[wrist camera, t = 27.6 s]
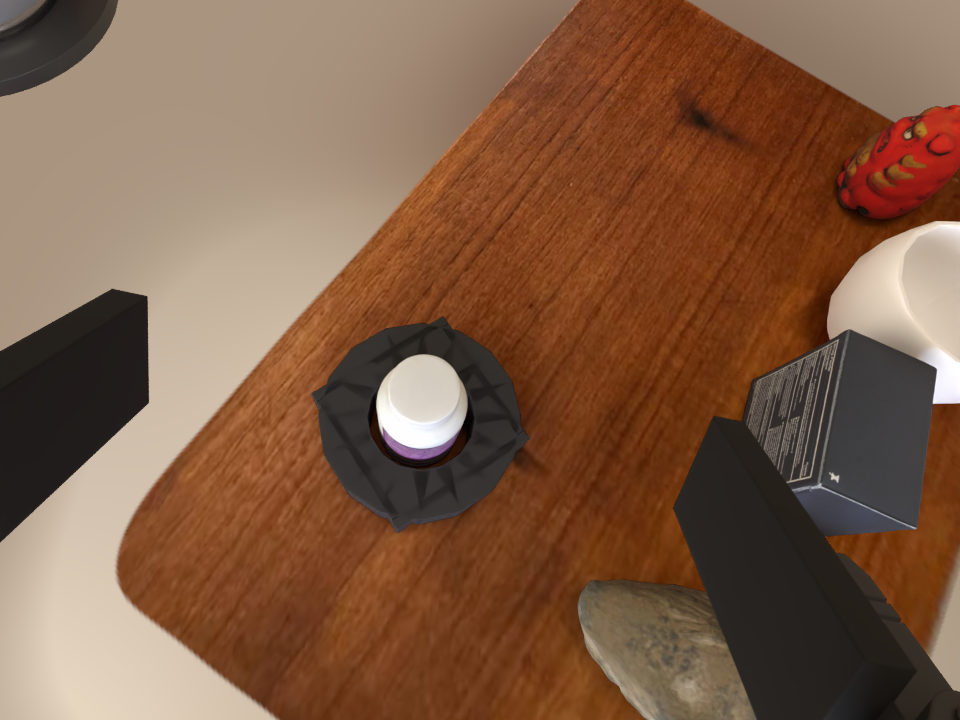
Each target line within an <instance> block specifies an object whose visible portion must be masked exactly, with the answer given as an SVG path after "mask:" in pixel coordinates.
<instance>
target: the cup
mask: <svg viewBox="0 0 960 720" xmlns="http://www.w3.org/2000/svg"><path fill="white" fill-rule="evenodd" d="M848 329H851V330H853V331H855V332H858V333H860V334H862V335H864V336H867V337H869V338H871V339H874V340H876V341H878V342H880V343H883V344H885V345H887V346H889V347H892V348H894V349H897V350H899V351H901V352H903V353H906V354H908V355H910V356H912V357H914V358H917V359H919V360H921V361H923V362H926V363H928V364H929V365H931V366H933V367H935V368H936V369H937V376H936V383H935V391H934V398H933V404H941V403H960V222H948V221H935V222H932V223H929V224H926V225H923V226H920V227H917V228H914V229H910V230H908V231H906V232H903V233H901V234H899V235H896V236H894V237H892V238H889V239H887V240H885V241H883V242H882V243H880V244H879V245H877V246H876V247H875V248H873V249H872V250H870V251H869V252H867V253H866V254H864V255H863V256H861V257H860V258H859V259H858V260H857V262H856V263H855V264H854V266H853V267H852V268H851V269H850V271H849V272H848V273H847V275H846V276H845V277H844V279H843V280H842V282H841V283H840V284H839V286H838V287H837V288H836V290H835V291H834V293H833V294H832V295H831V299H830V306H829V312H828V318H827V331H828V335H829V339H830V340H831V339H833V338H834V337H836V336H838V335H839V334H840V333H842V332H844V331H846V330H848Z"/></svg>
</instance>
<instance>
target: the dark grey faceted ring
mask: <svg viewBox="0 0 960 720" xmlns="http://www.w3.org/2000/svg"><path fill="white" fill-rule="evenodd" d="M422 354H426V355H433V356H436V357H439V358H441V359H443V360H445V361H446V362H447V363H449V364H450V365H451V366H452V367H453V369H454V370H455V372H456V373H457V375H458V377H459V378H460V380H461V381H462V383H463V385H464V388H465V390H466V394H467V401H468V406H467V413H466V419H467V423H468V428H469V429H468V435H467V440H466V445H465V446H464V448H463V449H462V451H461V452H460V454H459V455H457V456H456V457H454V458H453V459H451V460H450V461H448V462H447V463H445V464H444V465H442V466H437V467H432V468H427V469H422V470H421V469H416V468H411V467H406V466H401V465H399V464H397V463H396V462H394V461H393V460H391V459H390V458H388V457H387V456H385V455H384V454H383V453H382V452H381V450H380V449H379V447H378V446H377V444H376V443H375V441H374V439H373V438H372V436H371V431H370V425H371V421H372V417H373V413H374V409H375V408H376V401H377V395H378V391H379V388H380V386H381V384H382V382H383V380H384V379H385V377H386V376H387V375H388V374H389V373H390V372H391V371H392V370H393V369H394V368H395V367H397V365H398V364H399V363H401V362H402V361H404V360H405V359H407V358H409V357H411V356H415V355H422ZM311 395H312V397H313V399H314V401H315V403H316V406H317V408H318V409H319V416H318V417H319V424H320V431H321V438H322V445H323V452H324V456H325V457H326V459H327V461H328V462H329V464H330V466H331V467H332V469H333V470H334V472H335V474H336V475H337V477H338V478H339V480H340V482H341V483H342V485H343V486H344V488H345V490H346V491H347V493H348V494H349V495H350V496H351V497H352V498H353V499H355V500H356V501H358V502H359V503H361V504H362V505H364V506H365V507H367V508H368V509H370V510H371V511H373V512H374V513H375V514H377V515H378V516H380V517H382V518H387V519H388V520H389V521H390V523H391V524H392V526H393V528H394V529H395V531H396V532H397V533H398V532H400V531H401V530H403V529H404V528H406V527H407V526H409V525H410V524H411V523H413V524H423V523H428V522H433V521H437V520H442V519H447V518H451V517H455V516H457V515H459V514H460V513H462V512H463V511H465V510H466V509H467V508H469V507H470V506H472V505H473V504H474V503H476V502H477V501H479V500H480V499H482V498H483V497H484V496H486V495H487V494H488V493H489V492H490V491H492V490H493V489H494V488H495V487H496V485H497V483H498V482H499V480H500V478H501V477H502V475H503V474H504V472H505V470H506V469H507V467H508V466H509V464H510V462H511V461H512V459H513V458H514V456H515V452H516V451H517V450H519V449H520V448H521V447H522V446H523V445H524V444H525V443H526V442H527V441H528V440H529V439H530V438H529V436H528V435H527V433H526V432H525V431H523V430H524V429H523V428H522V426H521V425H520V420H521V418H520V417H521V415H520V411H519V407H518V403H517V399H516V395H515V390H514V386H513V382H512V380H511V379H510V377H509V376H508V375H507V373H506V372H505V370H504V369H503V368H502V366H501V365H500V364H499V362H498V361H497V359H496V358H495V357H494V355H493V354H492V352H491V351H489V350H488V349H487V348H485V347H483V346H482V345H480V344H479V343H477V342H476V341H474V340H473V339H471V338H470V337H468V336H467V335H465V334H463V333H462V332H460V331H458V330H453V329H452V328H451V326H450V325H449V324H448V322H447V321H446V319H445V318H444V317H441V318H439V319H438V320H436V321H434V322H432V323H431V324H425V323H419V324H412V325H406V326H399V327H392V328H386V329H384V330H382V331H381V332H379V333H377V334H375V335H374V336H372V337H370V338H368V339H367V340H365V341H363V342H361V343H360V344H358V345H356V346H354V347H353V348H352V349H351V350H350V351H349V352H348V354H347V355H346V356H345V358H344V359H343V360H342V361H341V363H340V364H339V365H338V366H337V368H336V369H335V370H334V372H333V373H332V374H331V375H330V377H329V378H328V382H327V385H325V386H323V387H321V388H320V389H318V390H316V391H315V392H313V393H312V394H311Z"/></svg>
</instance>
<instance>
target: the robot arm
mask: <svg viewBox="0 0 960 720" xmlns="http://www.w3.org/2000/svg"><path fill="white" fill-rule="evenodd" d="M56 1H57V0H0V42H1V41H4V40H7V39H9V38H12V37H14V36H16V35H18V34H20V33H22V32H24V31H25V30H27V29H29V28H30V27H32V26H33V25H35V24H36V23H37V22H38V21H40V20H41V19H42V18H43V17H44V16H45V15H46V14H47V13H48V12H49V11H50V9H51V8H52V7H53V5H54V4H55V2H56ZM147 305H148V301H147V296H144V295H139V294H134V293H129V292H124V291H120V290H115V289H111V290H110V291H108V292H106V293H104V294H102V295H100V296H99V297H97V298H95V299H93V300H91V301H90V302H88V303H86V304H84V305H82V306H81V307H79V308H77V309H75V310H74V311H72V312H70V313H68V314H66V315H65V316H63V317H61V318H59V319H57V320H56V321H54V322H52V323H50V324H48V325H47V326H45V327H43V328H41V329H40V330H38V331H36V332H34V333H32V334H31V335H29V336H27V337H25V338H23V339H21V340H20V341H18V342H16V343H14V344H13V345H11V346H9V347H7V348H6V349H4V350H2V351H0V542H1V541H2V540H3V539H4V538H5V537H6V536H8V535H9V534H10V533H11V532H12V531H13V530H14V529H15V528H16V527H17V526H18V525H19V524H20V523H21V522H23V520H25V519H26V518H27V517H28V516H29V515H30V514H31V513H32V512H33V511H34V510H35V509H36V508H37V507H38V506H40V505H41V504H42V503H43V502H44V501H45V500H46V499H47V498H48V497H49V496H50V495H51V494H52V493H53V492H54V491H56V490H57V489H58V488H59V487H60V486H61V485H62V484H63V483H64V482H65V481H66V480H67V479H68V478H69V477H70V476H71V475H73V473H75V472H76V471H77V470H78V469H79V468H80V467H81V466H82V465H83V464H84V463H85V462H86V461H87V460H88V459H90V458H91V457H92V456H93V455H94V454H95V453H96V452H97V451H98V450H99V449H100V448H101V447H102V446H103V445H105V444H106V443H107V442H108V441H109V440H110V439H111V438H112V437H113V436H114V435H115V434H116V433H117V432H118V431H119V430H120V429H121V428H123V426H125V425H126V424H127V423H128V422H129V421H130V420H131V419H132V418H133V417H134V416H135V415H136V414H137V413H138V412H140V411H141V410H142V409H143V408H144V407H145V406H146V405H147V404H148V403H149V382H148V381H149V377H148V306H147ZM673 509H674V512H675V514H676V517H677V519H678V522H679V524H680V527H681V529H682V532H683V534H684V537H685V539H686V542H687V544H688V547H689V550H690V552H691V555H692V557H693V560H694V562H695V565H696V567H697V570H698V572H699V575H700V577H701V580H702V582H703V585H704V587H705V590H706V593H707V595H708V598H709V600H710V603H711V605H712V608H713V610H714V613H715V615H716V618H717V620H718V623H719V625H720V628H721V630H722V633H723V636H724V638H725V641H726V643H727V646H728V648H729V651H730V653H731V656H732V658H733V661H734V663H735V666H736V668H737V671H738V673H739V676H740V679H741V681H742V684H743V686H744V689H745V691H746V694H747V696H748V699H749V701H750V704H751V706H752V709H753V711H754V714H755V717H756V719H757V720H960V692H958V691H954V690H953V689H952V688H951V687H950V685H949V684H948V683H947V681H946V680H945V678H944V677H943V676H942V674H941V673H940V672H939V670H938V669H937V668H936V666H935V665H934V664H933V662H932V661H931V659H930V658H929V657H928V655H927V654H926V652H925V651H924V650H923V648H922V647H921V646H920V644H919V643H918V642H917V640H916V639H915V637H914V636H913V635H912V633H911V632H910V631H909V629H908V628H907V626H906V625H905V624H904V623H901V622H900V619H901V618H900V617H899V616H898V614H897V613H896V611H895V610H894V609H893V607H892V606H891V605H890V604H887V603H886V600H887V599H886V598H885V596H884V595H883V594H882V592H881V591H880V590H879V588H878V587H877V585H876V584H875V583H874V581H873V580H872V579H871V577H870V576H869V575H868V574H867V573H865V572H864V571H863V570H862V569H861V568H860V567H859V566H858V565H856V564H855V563H854V562H853V561H852V560H851V559H850V558H849V557H847V556H846V555H845V554H840V553H835V551H834V550H833V548H832V547H831V546H830V544H829V543H828V541H827V540H826V538H825V537H824V536H823V534H822V533H821V531H820V530H819V528H818V527H817V525H816V524H815V523H814V521H813V520H812V518H811V517H810V515H809V514H808V513H807V511H806V510H805V508H804V507H803V505H802V504H801V502H800V501H799V500H798V498H797V497H796V495H795V494H794V492H793V491H792V490H791V488H790V487H789V485H788V484H787V482H786V481H785V480H784V478H783V477H782V475H781V474H780V472H779V471H778V469H777V468H776V467H775V465H774V464H773V462H772V461H771V459H770V458H769V457H768V455H767V454H766V452H765V451H764V449H763V448H762V446H761V445H760V444H759V442H758V441H757V439H756V438H755V436H754V435H753V434H752V432H751V431H750V429H749V428H748V426H747V425H746V424H745V422H741V421H736V420H731V419H726V418H722V417H717V416H713V418H712V421H711V423H710V425H709V427H708V430H707V432H706V434H705V437H704V439H703V441H702V443H701V446H700V448H699V450H698V452H697V455H696V457H695V459H694V461H693V464H692V466H691V468H690V470H689V473H688V475H687V477H686V480H685V482H684V484H683V486H682V489H681V491H680V493H679V495H678V498H677V500H676V502H675V504H674V507H673Z"/></svg>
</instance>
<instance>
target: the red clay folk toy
mask: <svg viewBox="0 0 960 720" xmlns="http://www.w3.org/2000/svg"><path fill="white" fill-rule="evenodd" d="M959 167H960V106H958V105H952V106H948V107H945V108H942V107H938V106H935V107H932V108H929V109H927V110H925V111H924V112H922V113H921V114H920V115H917V116H911V117H904V118H902V119H900V120H899V121H897V122H896V123H895V124H894V125H892V126H889V127H887V128H886V129H884V130H883V131H881V132H878V133H876V134H875V135H873V136H871V137H870V138H869V139H868V140H867V141H866V142H865V143H864V144H863V145H862V146H861V147H860V148H859V149H857V151H856V152H855V153H854V156H852V157H850V158H849V159H847V160H846V162H845V163H844V169H845V171H843V172H842V173H841V174H840V175H839V176H838V179H837V183H838V192H839V194H838V198H839V201H840V203H841V204H842V206H844V207H845V208H848V209H849V208H852V209H853V210H855V209H858V210H859V213H860V215H863V216H865V217H868V218H872V219H880V220H882V219H889V218H894V217H897V216H900V215H904V214H908V213H910V212H912V211H914V210H915V209H916V208H918V207H919V206H920V205H922V204H923V203H924V202H926V201H927V200H928V199H930V198H931V197H932V196H933V195H934V194H935V193H936V192H937V191H938V190H940V189H941V188H942V187H943V186H944V185H945V184H946V183H947V182H948V181H949V180H950V179H951V177H952V176H953V175H954V173H955V172H956V171H957V170H958V168H959Z"/></svg>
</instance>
